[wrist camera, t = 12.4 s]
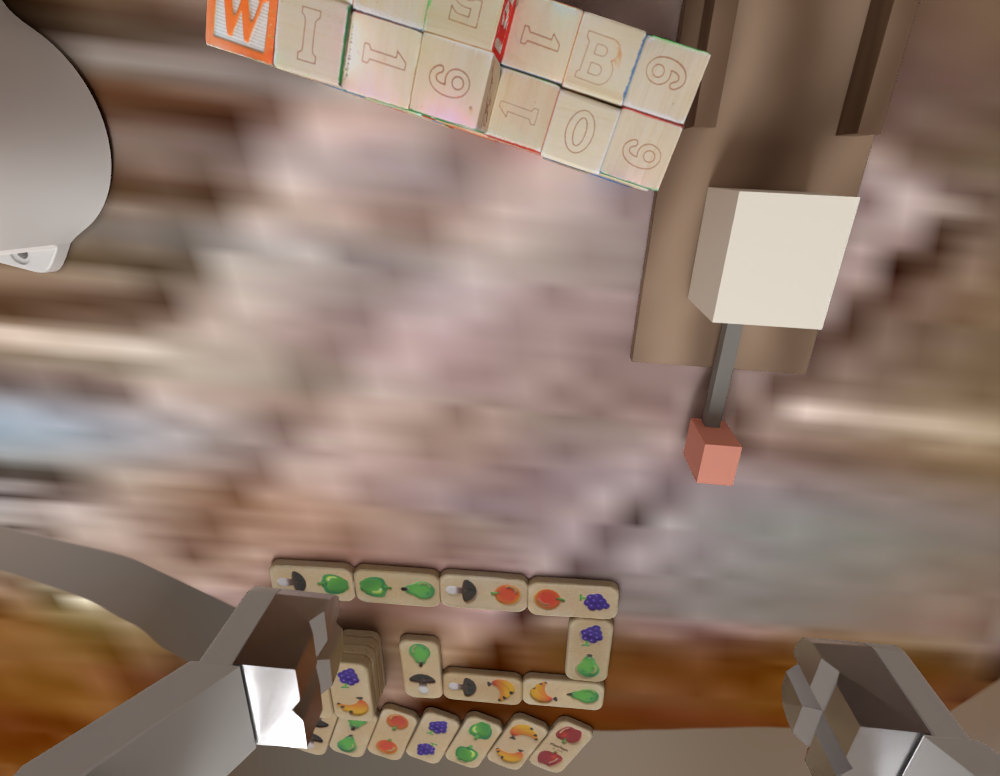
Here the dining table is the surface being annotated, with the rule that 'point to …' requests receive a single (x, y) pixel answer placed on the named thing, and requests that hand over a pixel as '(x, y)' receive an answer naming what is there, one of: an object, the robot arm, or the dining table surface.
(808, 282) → the block
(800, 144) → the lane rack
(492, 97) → the stack of blocks
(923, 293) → the dining table surface
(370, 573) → the pile of dominoes
